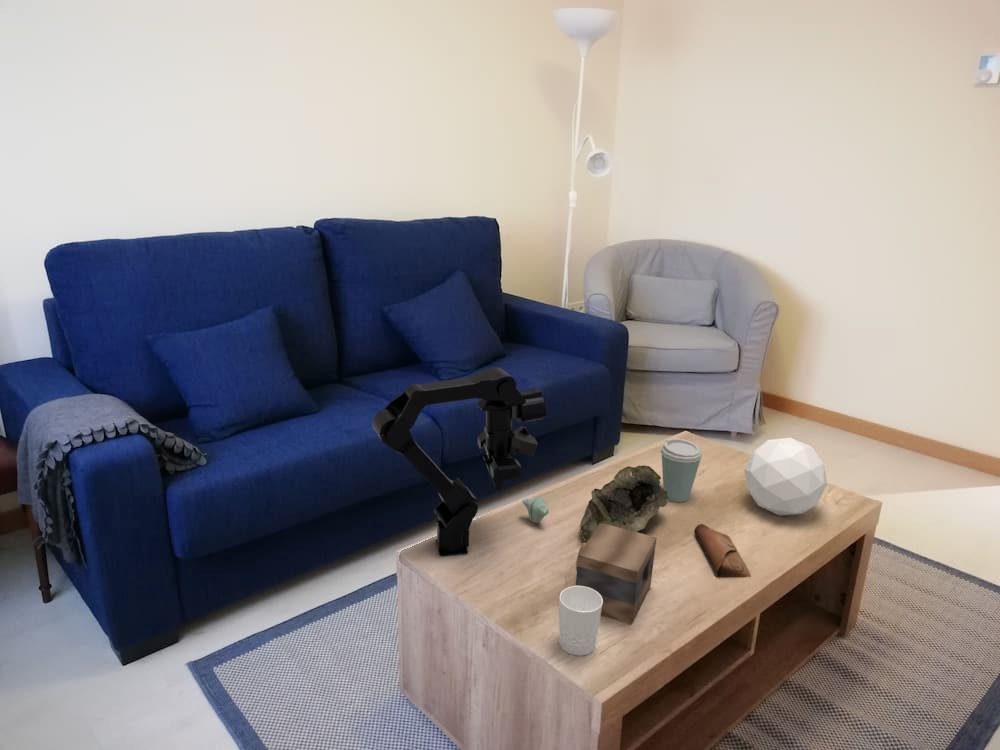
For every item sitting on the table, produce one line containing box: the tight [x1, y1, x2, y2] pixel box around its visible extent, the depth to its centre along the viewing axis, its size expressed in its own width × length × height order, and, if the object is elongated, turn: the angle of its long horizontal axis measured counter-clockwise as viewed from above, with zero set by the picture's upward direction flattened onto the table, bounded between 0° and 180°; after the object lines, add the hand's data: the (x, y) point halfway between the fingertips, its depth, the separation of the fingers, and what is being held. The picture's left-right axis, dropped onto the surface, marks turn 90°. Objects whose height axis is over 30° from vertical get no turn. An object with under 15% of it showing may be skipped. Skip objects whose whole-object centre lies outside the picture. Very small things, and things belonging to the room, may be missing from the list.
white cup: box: [558, 585, 603, 657], centre depth 135 cm, size 8×8×10 cm
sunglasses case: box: [693, 523, 752, 579], centre depth 167 cm, size 18×7×7 cm
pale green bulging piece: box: [521, 495, 549, 524], centre depth 177 cm, size 8×4×7 cm, turn 43°
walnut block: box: [575, 523, 657, 626], centre depth 149 cm, size 12×14×12 cm
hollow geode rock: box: [579, 465, 669, 543], centre depth 177 cm, size 28×13×15 cm
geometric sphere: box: [743, 437, 828, 517], centre depth 186 cm, size 19×20×20 cm
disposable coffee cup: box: [659, 437, 703, 503], centre depth 191 cm, size 11×11×15 cm
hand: (498, 488), depth 166 cm, fingers closed
